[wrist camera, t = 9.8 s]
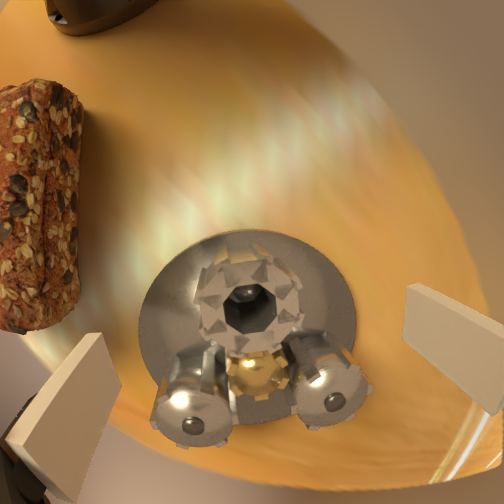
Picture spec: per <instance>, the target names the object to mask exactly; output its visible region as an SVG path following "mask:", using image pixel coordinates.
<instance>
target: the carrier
mask: <svg viewBox="0 0 504 504" xmlns="http://www.w3.org/2000/svg"><path fill="white" fill-rule="evenodd" d="M248 241H253V242H257V243H260V244H261V245H262V246H263V247H264V248H265V249H266V250H267V251H268V252H269V253H270V254H271V255H272V256H273V257H274V258H276V257H278V258H279V259H280V260H281V261H282V262H283V263H284V264H285V265H286V266H287V267H289V268H290V269H291V270H292V271H293V272H294V273H295V274H296V275H297V277H298V278H299V280H300V282H301V284H302V286H303V288H301V289H300V290H298V301H299V307H300V309H301V310H302V311H303V312H304V314H305V315H304V318H303V321H302V324H301V327H298V326H294V328H293V329H292V330H291V331H290V332H289V333H288V334H287V336H286V337H285V338H284V339H283V340H282V341H281V345H282V348H281V349H279V350H277V351H275V352H274V353H272V354H270V353H269V351H268V350H265V351H259V352H252V353H246V354H244V357H243V358H237V357H232V356H229V350H228V349H227V348H225V347H224V346H222V345H220V344H219V343H217V342H216V341H214V340H213V339H210V340H208V341H205V339H204V338H203V336H202V335H201V334H200V332H199V331H198V330H199V323H200V316H201V312H200V307H199V305H197V304H193V301H194V297H195V292H196V288H197V285H198V281H199V277H200V273H201V270H202V267H203V268H208V266H209V265H210V264H211V262H212V261H213V260H214V259H215V253H216V249H217V248H219V247H220V246H222V245H224V244H226V245H227V246H228V248H230V247H237V246H244V245H248ZM274 258H273V259H274ZM262 289H263V286H261V285H260V284H259V283H257V284H250V285H243V286H236V287H235V288H234V290H233V291H232V292H231V294H230V295H229V296H228V297H230V298H231V299H233V300H234V301H236V302H237V303H238V302H249V301H251V300H254V298H255V297H256V296H257V295H258V293H259V292H260V291H261V290H262ZM355 331H356V312H355V307H354V302H353V298H352V295H351V292H350V290H349V287H348V285H347V283H346V282H345V280H344V278H343V276H342V275H341V273H340V272H339V271H338V269H337V268H336V267H335V265H334V264H333V263H332V262H331V261H330V260H328V259H327V258H326V257H325V256H324V255H323V254H322V253H320V252H319V251H318V250H316V249H315V248H313V247H312V246H310V245H308V244H306V243H304V242H302V241H300V240H298V239H296V238H293V237H291V236H288V235H285V234H282V233H278V232H273V231H268V230H257V229H245V230H233V231H228V232H223V233H219V234H216V235H213V236H210V237H207V238H204V239H202V240H201V241H199V242H197V243H195V244H193V245H191V246H189V247H188V248H186V249H185V250H183V251H182V252H181V253H179V254H178V255H177V256H176V257H174V258H173V259H172V260H171V261H170V262H169V263H168V264H167V265H166V266H165V267H164V269H163V270H162V271H161V272H160V274H159V275H158V276H157V277H156V279H155V280H154V282H153V283H152V285H151V287H150V288H149V290H148V292H147V294H146V297H145V299H144V302H143V305H142V308H141V313H140V317H139V329H138V334H139V345H140V349H141V353H142V357H143V360H144V362H145V365H146V367H147V369H148V371H149V373H150V375H151V376H152V378H153V380H154V381H155V382H156V384H157V385H158V386H159V388H158V391H157V395H156V398H155V402H154V405H153V409H152V413H151V416H150V420H149V422H150V424H151V426H152V428H153V430H158V429H159V430H160V432H161V433H162V434H163V435H164V436H166V437H167V438H168V439H170V440H172V441H174V442H176V446H177V447H180V448H184V449H187V450H188V448H189V447H208V446H212V445H215V446H216V447H218V448H219V447H221V446H223V445H225V444H227V437H228V436H229V435H230V433H231V431H232V428H233V425H236V424H257V423H264V422H269V421H273V420H277V419H280V418H283V417H286V416H288V415H295V414H298V416H299V418H300V419H301V420H302V421H303V422H304V423H305V424H306V426H307V429H308V430H316V431H318V430H319V428H320V427H324V426H330V425H334V424H337V423H339V422H341V421H343V420H344V421H345V422H348V421H349V420H351V419H352V418H353V417H355V416H356V415H355V414H354V413H355V412H356V411H357V410H358V409H359V408H360V406H361V405H362V403H363V402H364V400H365V398H366V395H368V394H370V393H372V389H373V383H372V382H371V381H370V380H369V378H368V377H367V376H366V375H365V374H364V372H363V371H362V370H361V369H360V368H361V366H360V364H359V363H358V362H357V361H356V360H355V359H354V357H353V356H352V355H351V354H350V353H351V350H352V347H353V343H354V339H355Z"/></svg>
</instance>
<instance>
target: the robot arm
mask: <svg viewBox="0 0 504 504" xmlns="http://www.w3.org/2000/svg"><path fill="white" fill-rule="evenodd" d="M44 1H45V6H46V10H47V14H48V17H49V19H50V21H51V22H52V23H53V24H54V25H55V27H56V28H57V29H58V30H59V31H61V32H62V33H64V34H68V35H87V34H92V33H96V32H100V31H103V30H106V29H109V28H111V27H114V26H116V25H119V24H121V23H123V22H125V21H127V20H129V19H131V18H133V17H134V16H136V15H138V14H139V13H141V12H143V11H144V10H146V9H147V8H149V7H150V6H151V5H153V4H154V3H155V2H156V1H158V0H44ZM402 340H403V341H405V342H406V343H407V344H408V345H409V346H411V347H412V348H413V349H414V350H415V351H417V352H418V353H419V354H420V355H421V356H423V357H424V358H425V359H426V360H427V361H429V362H430V363H431V364H432V365H433V366H434V367H436V368H437V369H438V370H439V371H440V372H442V373H443V374H444V375H445V376H446V377H447V378H449V379H450V380H451V381H452V382H453V383H454V384H456V385H457V386H458V387H459V388H460V389H461V390H463V391H464V392H465V393H466V394H467V395H468V396H469V397H471V398H472V399H473V400H474V401H475V402H476V403H477V404H479V405H480V406H481V407H482V408H483V409H484V410H485V411H486V412H488V413H489V414H490V415H491V416H492V417H493V416H495V415H496V414H497V413H498V412H499V411H501V410H502V409H503V408H504V325H502V324H500V323H498V322H497V321H495V320H493V319H491V318H489V317H487V316H485V315H483V314H481V313H479V312H477V311H476V310H474V309H472V308H470V307H468V306H466V305H464V304H462V303H460V302H458V301H456V300H454V299H452V298H450V297H448V296H446V295H444V294H442V293H440V292H438V291H436V290H433V289H431V288H429V287H427V286H425V285H423V284H421V283H416V284H412V285H408V286H407V292H406V306H405V317H404V326H403V335H402ZM121 387H122V385H121V382H120V380H119V378H118V375H117V373H116V370H115V368H114V365H113V362H112V360H111V357H110V354H109V352H108V349H107V346H106V343H105V340H104V337H103V334H102V333H87V334H86V335H85V336H84V337H83V339H82V340H81V341H80V342H79V343H78V344H77V346H76V347H75V348H74V349H73V350H72V351H71V353H70V354H69V355H68V356H67V357H66V359H65V360H64V361H63V362H62V363H61V365H60V366H59V367H58V368H57V370H56V371H55V372H54V373H53V375H52V376H51V377H50V378H49V380H48V381H47V382H46V384H45V385H44V386H43V387H42V389H41V390H40V391H39V392H38V393H37V394H35V395H34V396H33V397H31V398H30V399H29V400H28V401H27V403H26V404H25V405H24V406H23V408H22V409H23V410H20V412H19V413H18V414H17V417H15V419H14V420H13V421H12V423H11V424H10V426H9V427H8V428H7V430H6V431H5V433H4V434H3V435H2V437H1V438H0V504H51V503H50V501H49V499H48V498H47V497H46V495H44V492H45V490H46V488H47V489H48V490H49V491H50V492H51V493H52V494H53V495H54V496H55V497H56V498H58V499H61V500H64V501H67V502H71V503H74V504H76V502H77V499H78V496H79V493H80V490H81V487H82V485H83V482H84V479H85V476H86V473H87V470H88V468H89V465H90V462H91V459H92V457H93V454H94V452H95V449H96V447H97V444H98V442H99V439H100V437H101V434H102V431H103V429H104V427H105V424H106V422H107V420H108V417H109V415H110V412H111V410H112V408H113V405H114V403H115V401H116V398H117V396H118V394H119V392H120V389H121Z"/></svg>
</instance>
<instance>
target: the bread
mask: <svg viewBox="0 0 504 504" xmlns="http://www.w3.org/2000/svg"><path fill="white" fill-rule="evenodd" d="M77 96H78V95H74V93H72V92H71V91H70V90H68V89H67V88H65V87H63V86H62V85H61V84H60V83H57V82H55V81H47V80H43V79H31V80H30V81H29V82H26V83H23V84H21V85H19V86H12V85H9V86H7V87H3V89H2V90H0V329H2V330H4V331H9V332H14V333H18V334H22V335H26V333H27V331H34V330H38V331H39V329H44V328H47V327H50V326H52V325H54V324H56V323H57V322H61V320H62V318H63V317H64V316H66V315H67V314H69V311H71V310H74V305H75V304H76V303H77V302H78V300H79V295H80V287H81V284H80V281H79V278H78V269H77V249H78V238H77V234H78V230H77V216H78V210H77V207H78V192H79V174H80V167H79V158H80V154H81V150H80V146H81V142H82V139H81V133H82V125H83V119H84V107H83V105H82V103H81V102H79V101H78V98H77Z"/></svg>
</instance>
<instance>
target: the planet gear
mask: <svg viewBox="0 0 504 504" xmlns="http://www.w3.org/2000/svg"><path fill="white" fill-rule="evenodd" d="M273 258H274V257H273V256H272V255H271V254H270V253H269V252H268V251H267V250H266V249H265V248H264V247H263V246H262V245H261V244H260V243H257V242H253V241H248V245H244V246H237V247H230V248H228V246H227V245H226V244H224V245H222V246H220V247H219V248H217V249H216V253H215V259H214V260H213V261H212V262H211V264H210V265H209V266H208V268H203V267H202V270H201V273H200V277H199V281H198V285H197V288H196V292H195V297H194V301H193V304H197V305H199V307H200V312H201V316H200V323H199V330H198V331H199V332H200V334H201V335H202V336H203V338H204V339H205V341H208V340H210V339H213V340H214V341H216V342H217V343H219V344H220V345H222V346H224V347H225V348H227V349H228V350H229V356H232V357H237V358H243V357H244V354H246V353H252V352H259V351H265V350H268V351H269V353H270V354H272V353H274V352H275V351H277V350H279V349H281V348H282V345H281V341H282V340H283V339H284V338H285V337H286V336H287V334H288V333H289V332H290V331H291V330H292V329H293V328H294V326H298V327H301V324H302V321H303V318H304V315H305V314H304V312H303V311H302V310H301V309H300V307H299V301H298V290H300V289H301V288H303V286H302V284H301V282H300V280H299V278H298V277H297V275H296V274H295V273H294V272H293V271H292V270H291V269H290V268H289V267H287V266H286V265H285V264H284V263H283V262H282V261H281V260H280V259H279V258H278V257H276V258H274V259H273ZM257 283H259V284H260V285H261V286H263V289H262V290H261V291H260V292H259V293H258V295H257V296H256V297H255V298H254V300H251V301H249V302H238V303H237V302H236V301H234V300H233V299H231V298H230V297H228V296H229V295H230V294H231V292H232V291H233V290H234V288H235V287H236V286H243V285H250V284H257Z"/></svg>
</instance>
